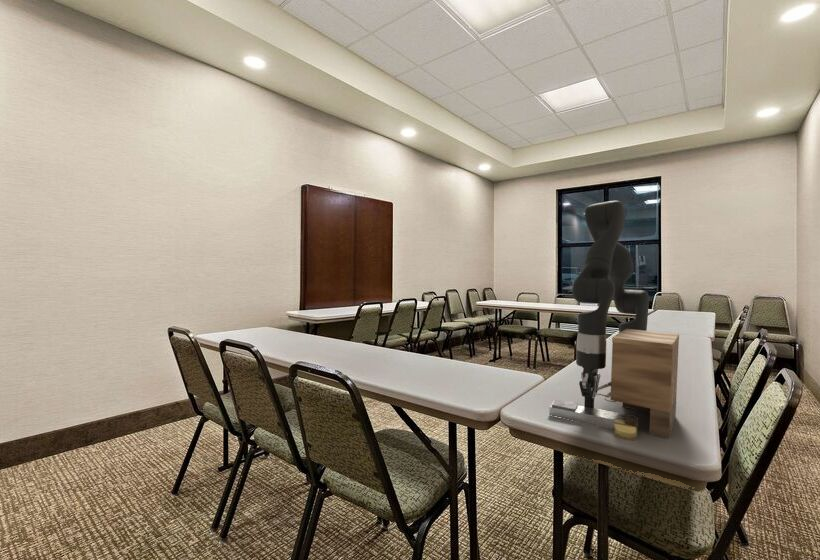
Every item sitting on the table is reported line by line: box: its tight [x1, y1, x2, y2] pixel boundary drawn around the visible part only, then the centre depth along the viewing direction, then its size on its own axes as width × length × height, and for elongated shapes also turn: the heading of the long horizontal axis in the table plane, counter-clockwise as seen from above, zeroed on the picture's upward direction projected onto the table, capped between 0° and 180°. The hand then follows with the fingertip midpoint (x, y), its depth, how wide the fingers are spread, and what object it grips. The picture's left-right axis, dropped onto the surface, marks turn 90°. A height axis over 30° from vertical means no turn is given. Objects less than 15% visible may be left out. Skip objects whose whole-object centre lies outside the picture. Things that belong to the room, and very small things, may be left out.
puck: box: [613, 420, 638, 441], centre depth 95 cm, size 5×5×3 cm
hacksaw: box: [596, 381, 618, 403], centre depth 129 cm, size 24×10×2 cm, turn 128°
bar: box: [548, 399, 639, 430], centre depth 103 cm, size 6×21×4 cm, turn 59°
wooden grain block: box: [609, 329, 680, 440], centre depth 104 cm, size 19×13×23 cm
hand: (589, 410), depth 108 cm, fingers closed
